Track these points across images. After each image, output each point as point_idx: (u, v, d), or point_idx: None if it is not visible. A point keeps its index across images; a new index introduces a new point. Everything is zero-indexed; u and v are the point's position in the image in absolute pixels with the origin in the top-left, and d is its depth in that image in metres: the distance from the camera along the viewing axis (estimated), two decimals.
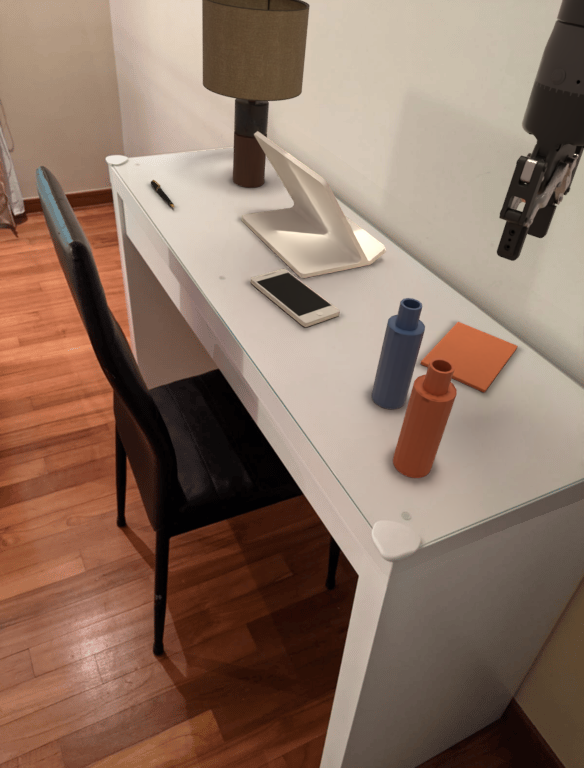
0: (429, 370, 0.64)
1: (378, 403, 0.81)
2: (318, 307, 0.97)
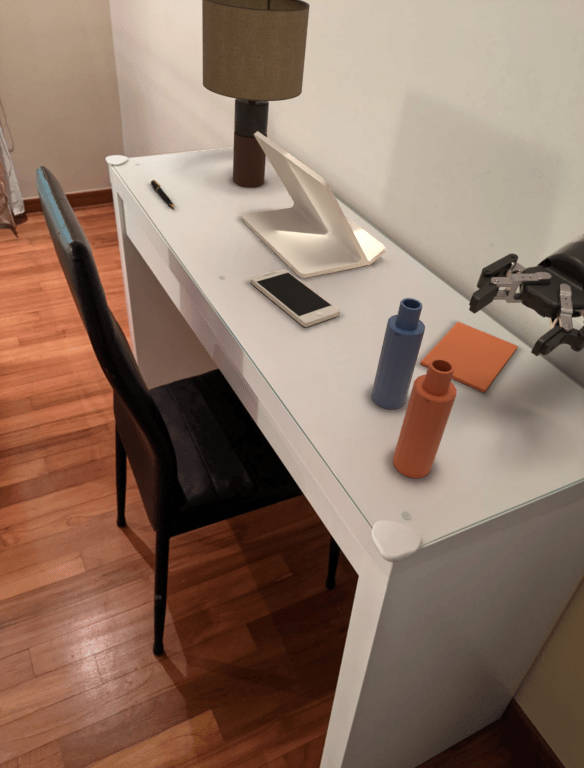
0: (429, 370, 0.64)
1: (378, 403, 0.81)
2: (318, 307, 0.97)
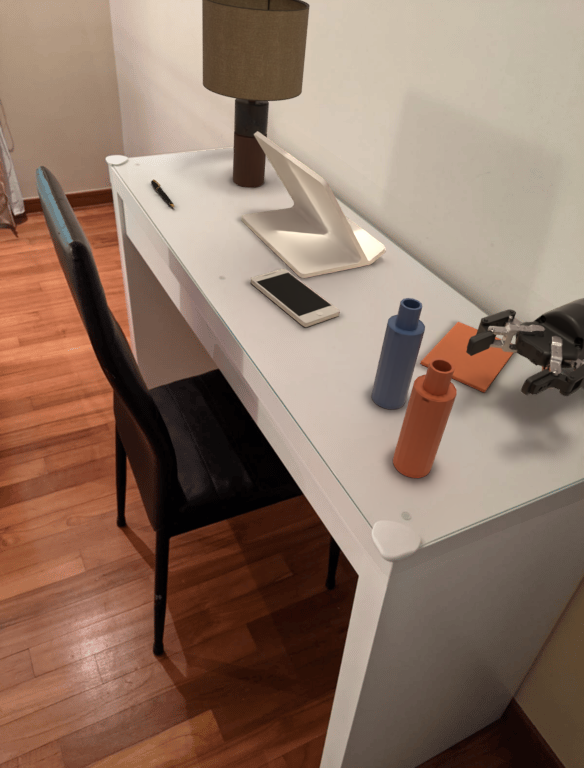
0: (429, 370, 0.64)
1: (378, 403, 0.81)
2: (318, 307, 0.97)
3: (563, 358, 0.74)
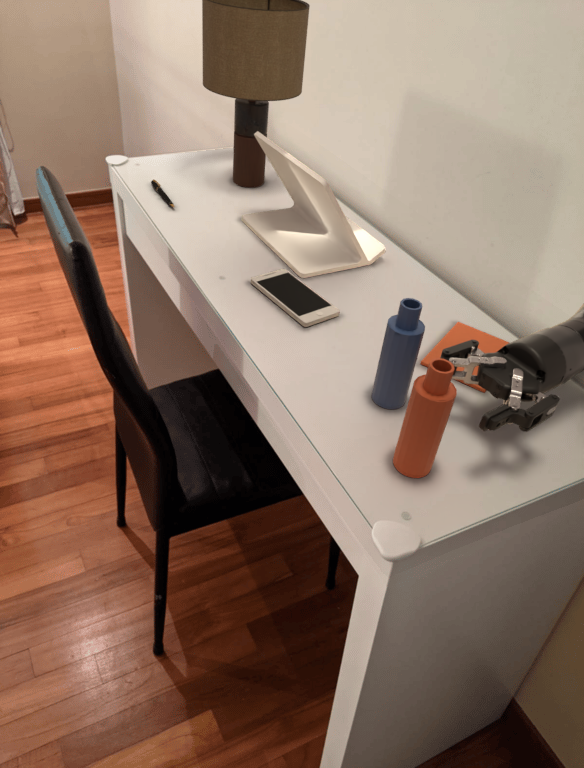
0: (429, 370, 0.64)
1: (378, 403, 0.81)
2: (318, 307, 0.97)
3: (524, 392, 0.72)
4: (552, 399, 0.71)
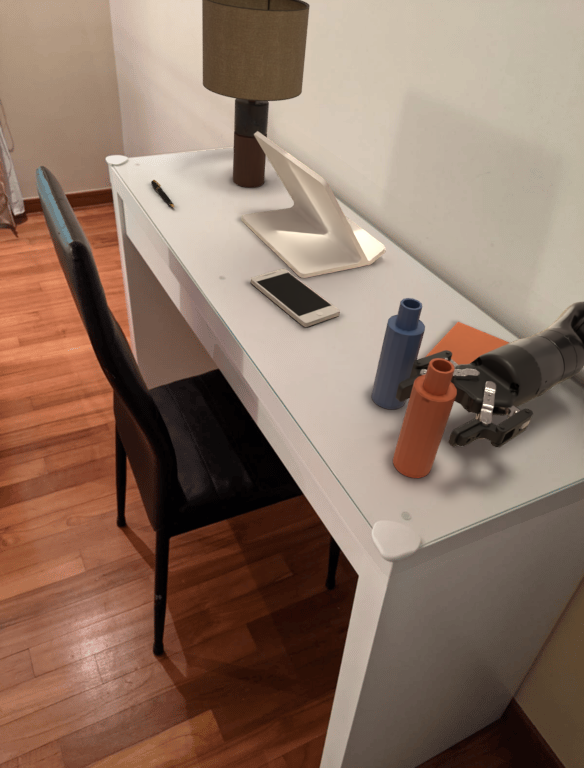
0: (429, 370, 0.64)
1: (378, 403, 0.81)
2: (318, 307, 0.97)
3: (496, 405, 0.70)
4: (525, 413, 0.68)
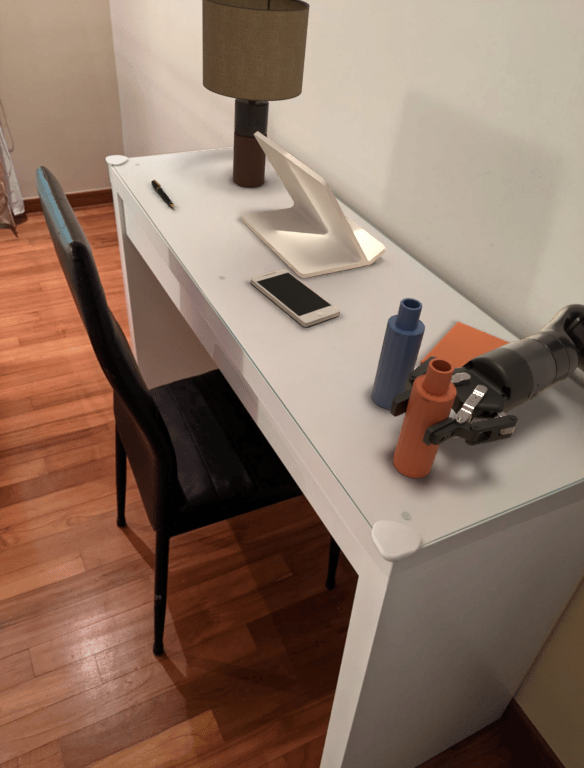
0: (429, 370, 0.64)
1: (378, 403, 0.81)
2: (318, 307, 0.97)
3: (488, 409, 0.69)
4: (509, 419, 0.67)
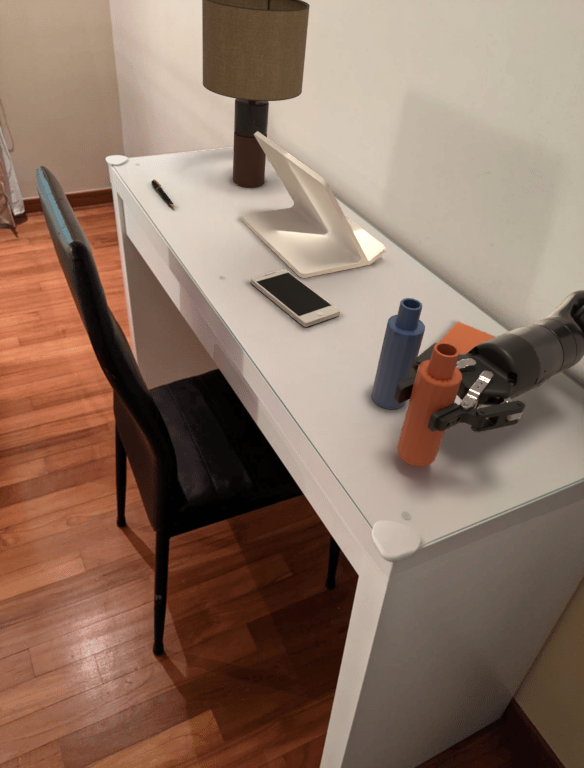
0: (434, 354, 0.63)
1: (378, 403, 0.81)
2: (318, 307, 0.97)
3: (494, 395, 0.68)
4: (515, 405, 0.66)
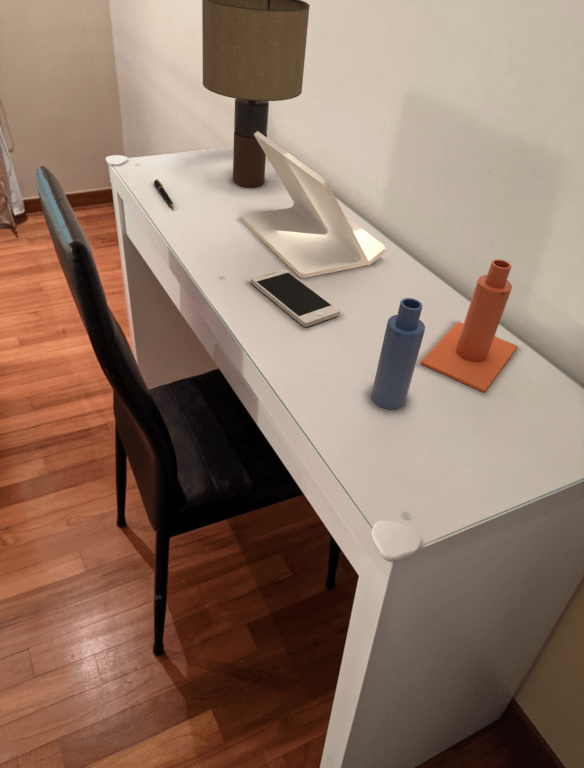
0: None
1: (378, 403, 0.81)
2: (318, 307, 0.97)
3: None
4: None
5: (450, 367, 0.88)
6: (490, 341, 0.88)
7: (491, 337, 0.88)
